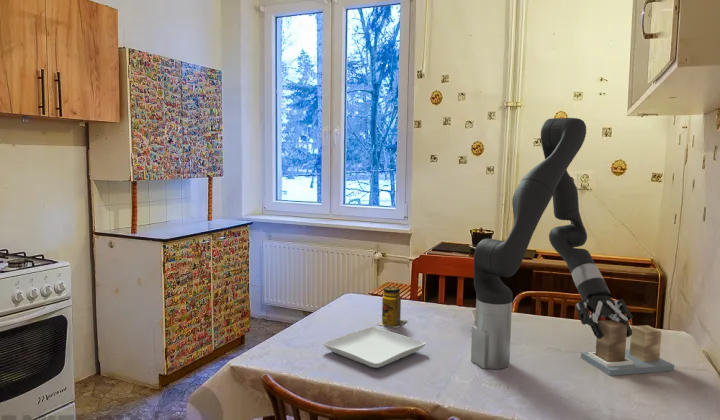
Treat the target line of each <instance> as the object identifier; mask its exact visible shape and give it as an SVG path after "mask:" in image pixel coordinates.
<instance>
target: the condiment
mask: <svg viewBox="0 0 720 420" xmlns="http://www.w3.org/2000/svg"><path fill="white" fill-rule="evenodd" d="M381 300H382V301H381V302H382V303H381V306H382V307H381V311H382V312H381V314H382V315H381V322H380V323H377V325H379V326H382V327H389V328H395V329H398V328H400V327H401V326H403V325H404V324H405V323H407V320H406V319H405V320H404V319H401V312H402V311H401V305H402V304H401V303H402V302H401V301H402V297H401V290H400V288H399V287H396V286H386V287H384V288H383V296H382V299H381Z"/></svg>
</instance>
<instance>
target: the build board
mask: <svg viewBox="0 0 720 420" xmlns="http://www.w3.org/2000/svg"><path fill="white" fill-rule="evenodd" d="M580 359H582V360H584V361H586V362H587V363H589V364H590V365H592V366H593V367H595V368H597V369H599V370H600V371H602V372H604V373H605V374H607V375H608V376H610V377H611V376H625V375H636V374H637V375H638V374H650V373H651V374H652V373H664V372H674V371H675V367H676V366H675V364H673V363H671V362H669V361H667V360H665V359H663V358H661V357H659V360H657V361H644V362H643V361H641V360H639V359H637V358H635V357H633V356H632V355H630V348H629V349H627V348H626V349H625V361H621V362H606V361H604V360H603V359H601V358H599V357H597V356H596V351H586V352H585V351H584V352H580Z"/></svg>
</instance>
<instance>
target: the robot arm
mask: <svg viewBox="0 0 720 420" xmlns="http://www.w3.org/2000/svg"><path fill="white" fill-rule="evenodd" d="M586 135H587V125H586V123H585V121H584V120H583V119H581V118H577V117H554V118H548V119H546V120H545V121H544V122H543V124H542V126H541V128H540V142H541V143H540V144H541V148H542V152H543V156H544V160H542V161H541V162H540V163H538V164H537V165H535V166H534V167H533V168H531V169H530V170H529V171H528V172H526V174H525V175H524V176H523V177H522V178H521V179H520V182H519V184H518V185H517V187H516V189H515V191H514V193H513V196H512V199H511V200H512V203H511V204H512V206H511V207H512V214H513V226H512V228H511V230H510V233H509V234H508V236H507V238H506V239H505V240H500V239H494V238H483V239H481V240H480V241H479V242H478V243H477V245H476V247H475V250H474V255H473V286H474V287H473V288H474V290H475V293H476V295H475V296H476V299H475V300H476V301H475V310H476V321H475V320H474V323H475V325H473V326H472V327H471V345H470V347H471V349H470V361H471V362H472V363H474V364H476V365H478V366H479V367H480V368H482V369H485V370H486V369H495V370H500V369H504V368H505V369H506V368H508V367H509V366H510V361H511V360H510V358H511V356H510V355H511V336H512V335H511V334H512V333H511V331H512V315H513V314H512V312H513V291H512V290H511V288H510V287H508V286H507V285H506V284H505V283H504V282H503V281H502V280H501V278H500V277H502V278H510V277H513V276H514V275H515V274H516V273H517V272H518V270H519V269H520V266H521V264H522V262H523V260H524V257H525V255H526V253H527V249H528V247H529V245H530V243H531V239H532V237H533V234H534V233H535V230H536V229H537V226H538V224H539V223H540V220H541V218H542V216H543V214H544V212H545V211H546V209H547V207H548V205H549V203H550V201H551V200H552V205H553V214H554V218H555V219H557V220H559V221H570V224H566V225H560V226H554V227H553V228H551V229H550V231H549V233H548V240H549V243H550V245H551V246H552V249H554V250H555V251H556V252H557V254H559V256H560V257H561V258H562V260H563V261H564V263H566V265H567V267H568V270H569V272H570V274H571V277H572V281H573V282H574V285H575V287H576V289H577V292H578V294H579V297H580V298H581V300H579V301H578V302H577V303H576V304H575V310H576V312H577V315H578V316H579V320H580V322H581V325H588V326H589V327H590V328H591V331H592V333H593V335H594V336H595V338H596V339H597V338H598V339H601V338H602V337H603V336H604V334H603V331H602V329H601V327H600V325H599V323H598V321H599V320H598V319H599V318H610V320H615V321H617V322H620V323H622V324H624V325H626V326H627V335H626V338H631V335H632V330H631V326H630V324H629V321H630V320H632V319H633V318H634V317H633V314H632V313H631V311H630V309H629V307H628V306H627V304H626V302H625V300H624V299H623V298H619V300H618V299H617V300H614V299H613V298H612V297H611V291H610V290H609V287H608V285H607V283H606V281H605V279H604V277H603V275H602V272H601V271H600V269H599V268H598V267H597V265H596V263H595V261H594V259H593V257H592V255H591V253H590V251H588V250H587V249H585V248H579V247H583V246H584V245H585V244H586V242H587V239H588V234H587V231H586V228H585V226H584V222H583V220H582V217H581V213H580V206H579V204H580V203H579V192H578V188H577V186H576V183H575V182H574V180H573V178H572V177H571V175H570V174H569V172H568V170H567V169H568V168H569V166H570V165H571V163H572V162H573V160H575V159H574V158H576V156H577V154H578V153H579V152H580V150H581V148H582V146H583V144H584V142H585V140H586ZM587 310H588V311H589V312H590V313H589V312H588V311H587ZM614 313H615V314H614Z"/></svg>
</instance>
